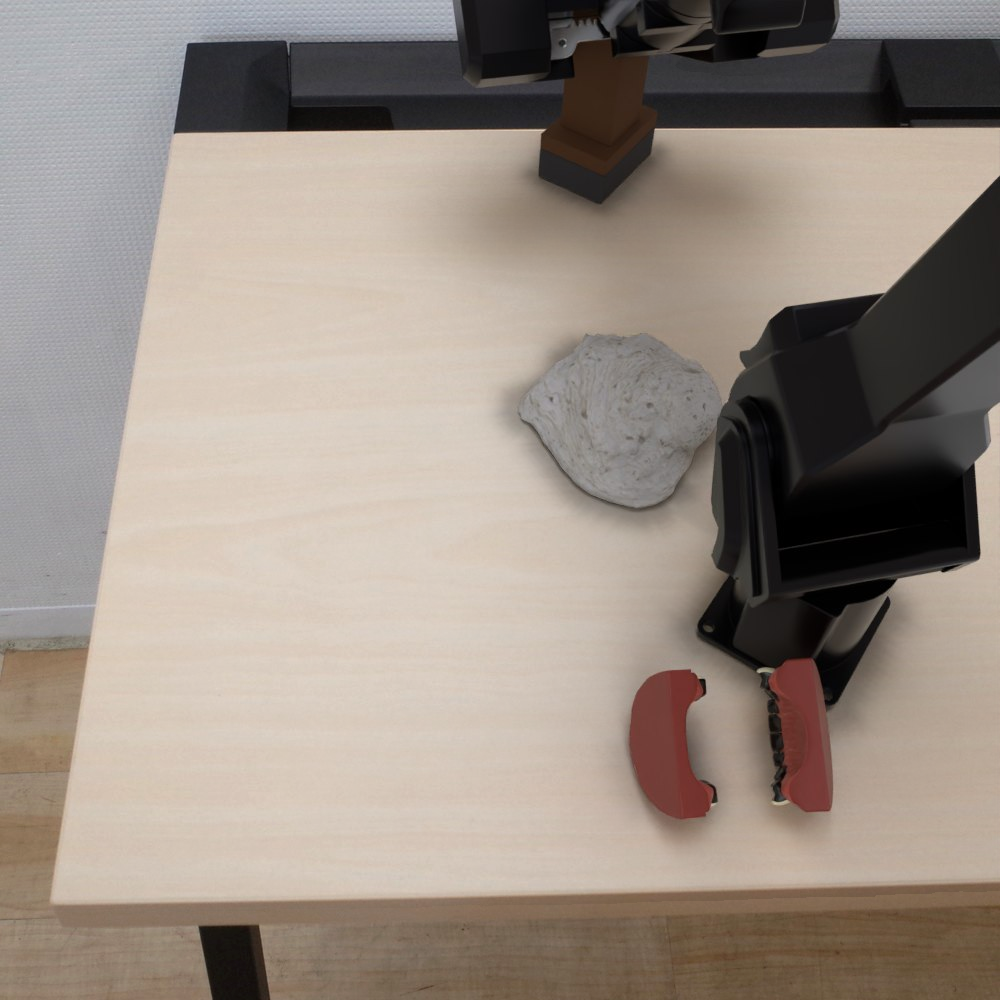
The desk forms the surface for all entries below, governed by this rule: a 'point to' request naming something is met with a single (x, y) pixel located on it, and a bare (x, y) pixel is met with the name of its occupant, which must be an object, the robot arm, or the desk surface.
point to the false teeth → (796, 747)
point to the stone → (624, 416)
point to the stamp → (599, 123)
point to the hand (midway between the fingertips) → (601, 44)
